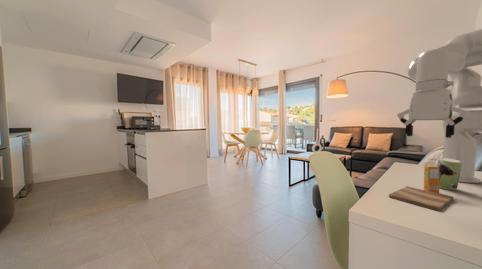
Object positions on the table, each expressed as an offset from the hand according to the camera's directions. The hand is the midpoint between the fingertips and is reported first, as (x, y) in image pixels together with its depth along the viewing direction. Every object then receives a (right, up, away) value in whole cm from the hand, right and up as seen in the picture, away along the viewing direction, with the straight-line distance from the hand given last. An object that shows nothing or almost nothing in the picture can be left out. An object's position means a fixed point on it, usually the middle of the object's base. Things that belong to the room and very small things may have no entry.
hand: (427, 136), depth 63 cm
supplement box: (+6, -21, +4) cm, 22 cm away
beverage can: (+16, -21, +8) cm, 28 cm away
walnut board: (-4, -21, -1) cm, 22 cm away
